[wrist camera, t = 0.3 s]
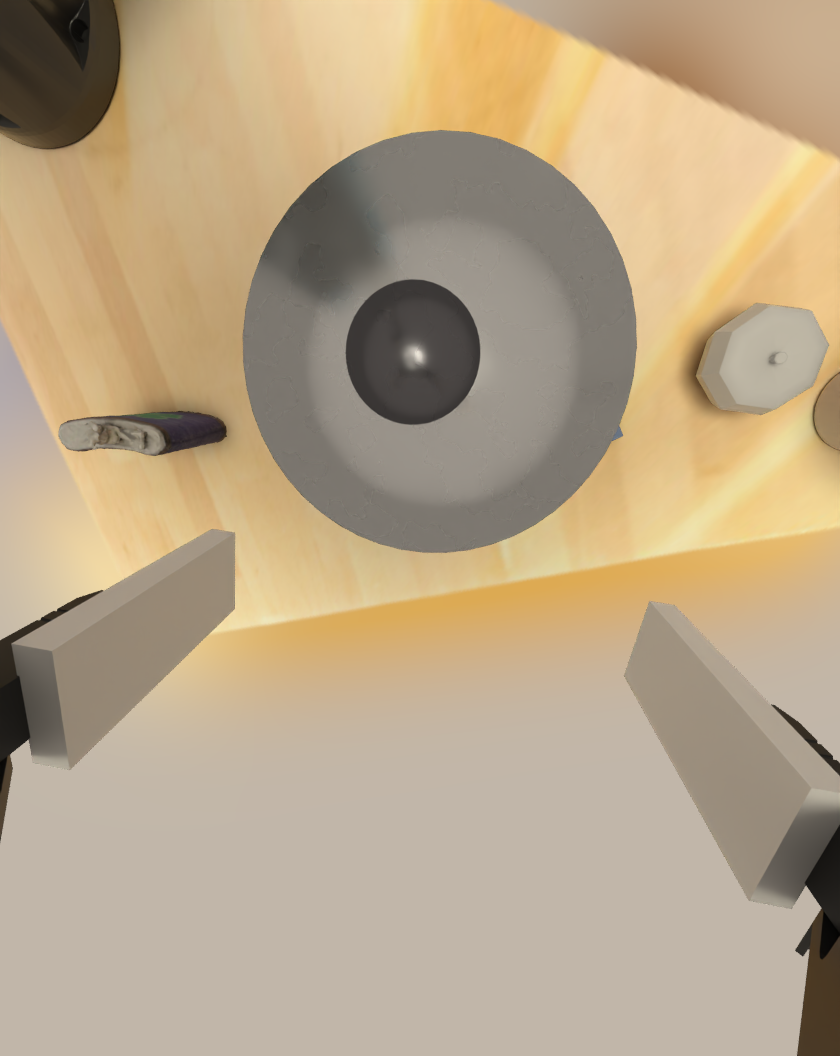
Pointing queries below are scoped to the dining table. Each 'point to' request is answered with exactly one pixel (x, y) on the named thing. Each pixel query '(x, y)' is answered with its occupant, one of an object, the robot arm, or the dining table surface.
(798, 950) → the robot arm
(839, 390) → the coffee cup
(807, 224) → the dining table surface
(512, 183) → the cake dome
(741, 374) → the grey faceted round piece
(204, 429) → the flask
